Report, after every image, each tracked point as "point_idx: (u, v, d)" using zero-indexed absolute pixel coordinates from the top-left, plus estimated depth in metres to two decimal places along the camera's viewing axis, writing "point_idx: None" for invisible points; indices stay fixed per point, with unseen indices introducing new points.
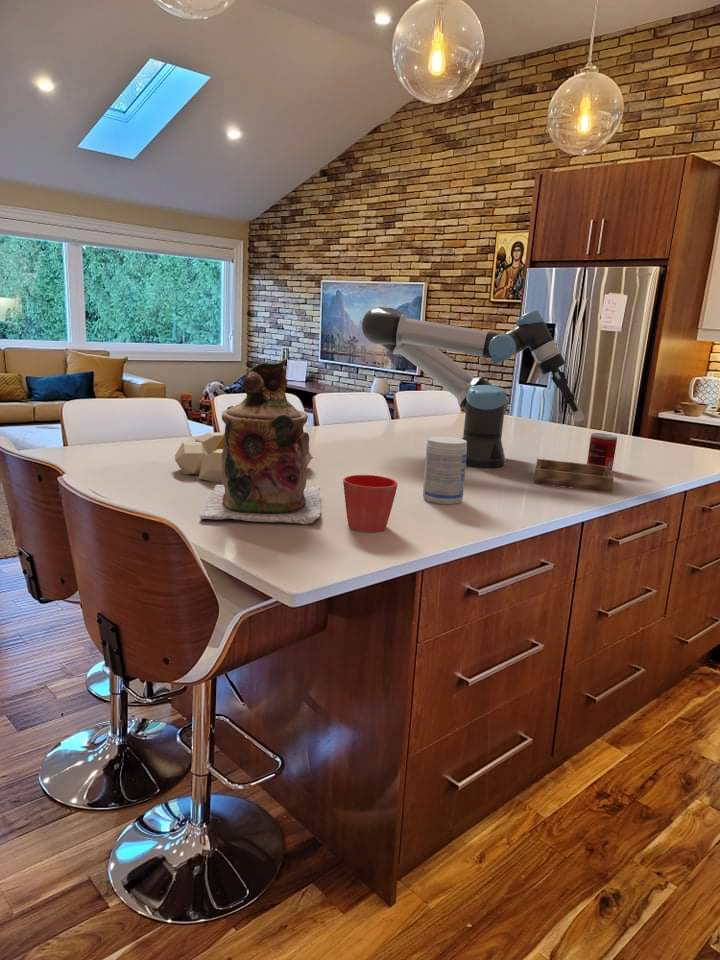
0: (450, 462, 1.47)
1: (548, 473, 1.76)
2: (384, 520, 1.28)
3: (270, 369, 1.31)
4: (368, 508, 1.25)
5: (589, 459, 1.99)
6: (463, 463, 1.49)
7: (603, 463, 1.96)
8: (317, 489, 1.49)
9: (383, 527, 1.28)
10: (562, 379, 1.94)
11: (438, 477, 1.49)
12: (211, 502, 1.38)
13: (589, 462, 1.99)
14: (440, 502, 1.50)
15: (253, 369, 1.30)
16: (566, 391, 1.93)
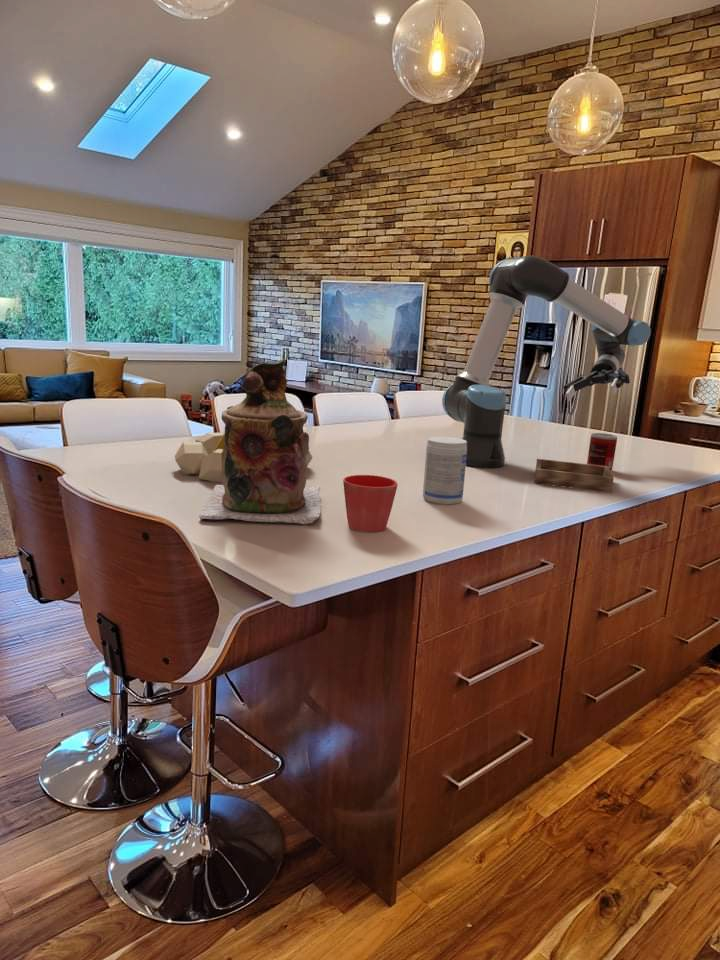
0: (450, 462, 1.47)
1: (548, 473, 1.76)
2: (384, 520, 1.28)
3: (269, 369, 1.31)
4: (368, 508, 1.25)
5: (589, 459, 1.99)
6: (463, 463, 1.49)
7: (603, 463, 1.96)
8: (317, 489, 1.49)
9: (383, 527, 1.28)
10: None
11: (438, 477, 1.49)
12: (211, 502, 1.38)
13: (589, 462, 1.99)
14: (440, 502, 1.50)
15: (253, 369, 1.30)
16: None
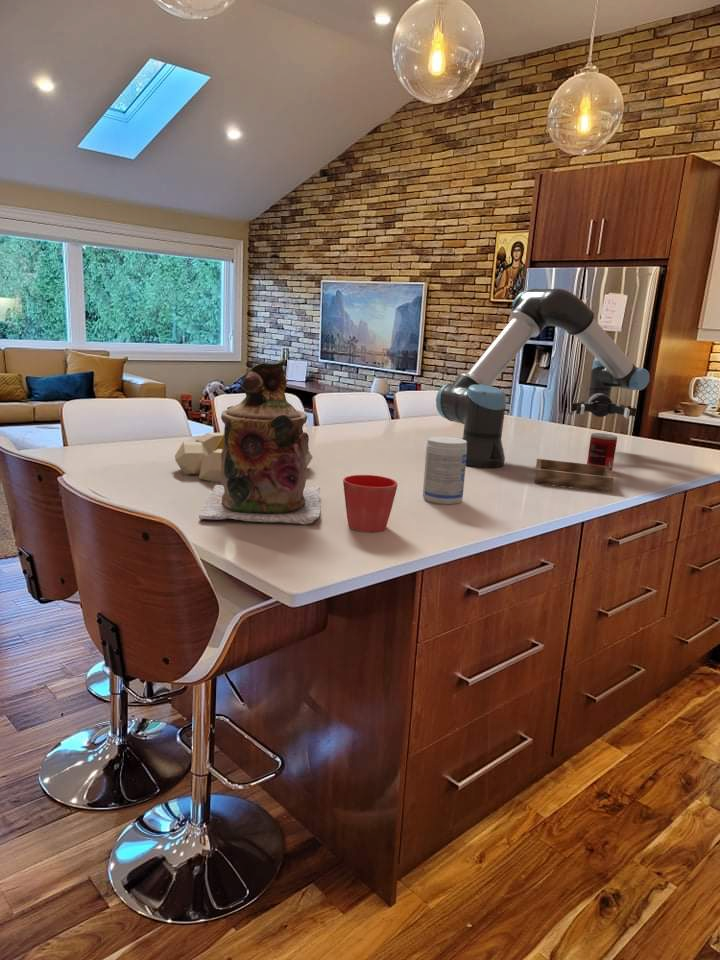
0: (450, 462, 1.47)
1: (548, 473, 1.76)
2: (384, 520, 1.28)
3: (269, 369, 1.31)
4: (368, 508, 1.25)
5: (589, 459, 1.99)
6: (463, 463, 1.49)
7: (603, 463, 1.96)
8: (317, 489, 1.49)
9: (383, 527, 1.28)
10: None
11: (438, 477, 1.49)
12: (210, 502, 1.38)
13: (589, 462, 1.99)
14: (440, 502, 1.50)
15: (252, 369, 1.30)
16: None
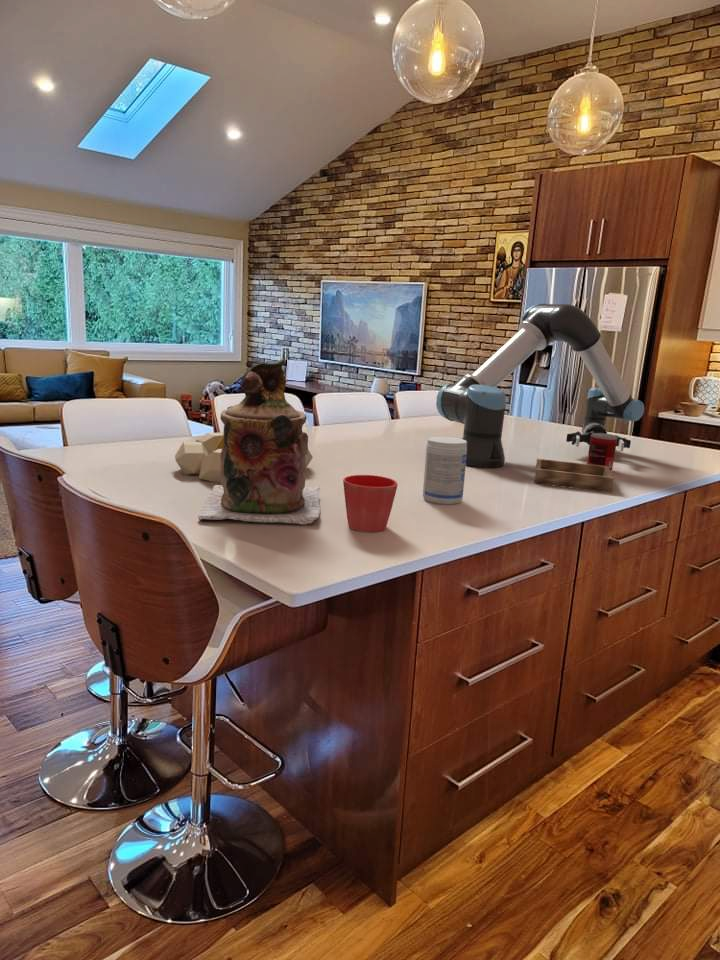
0: (450, 462, 1.47)
1: (548, 473, 1.76)
2: (384, 520, 1.28)
3: (268, 369, 1.31)
4: (368, 508, 1.25)
5: (589, 459, 1.99)
6: (463, 463, 1.49)
7: (603, 463, 1.96)
8: (316, 489, 1.49)
9: (383, 527, 1.28)
10: None
11: (438, 477, 1.49)
12: (209, 502, 1.38)
13: (589, 462, 1.99)
14: (440, 502, 1.50)
15: (252, 369, 1.30)
16: None
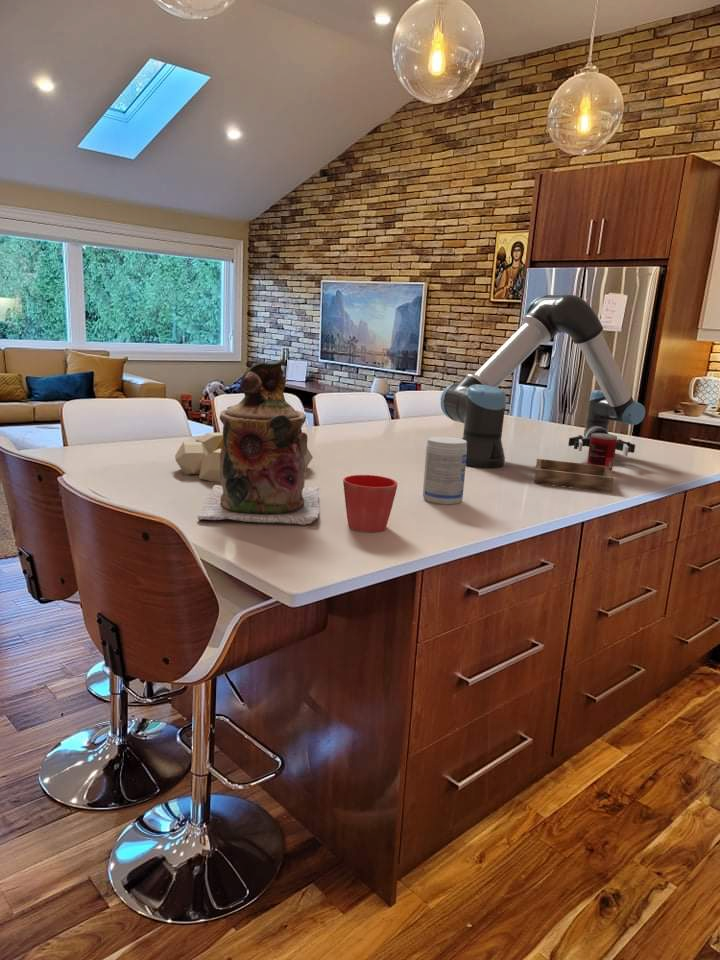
0: (450, 462, 1.47)
1: (548, 473, 1.76)
2: (384, 520, 1.28)
3: (268, 369, 1.31)
4: (368, 508, 1.25)
5: (589, 459, 1.99)
6: (463, 463, 1.49)
7: (603, 463, 1.96)
8: (315, 489, 1.48)
9: (383, 527, 1.28)
10: None
11: (438, 477, 1.49)
12: (209, 503, 1.37)
13: (589, 462, 1.99)
14: (440, 502, 1.50)
15: (251, 369, 1.29)
16: None
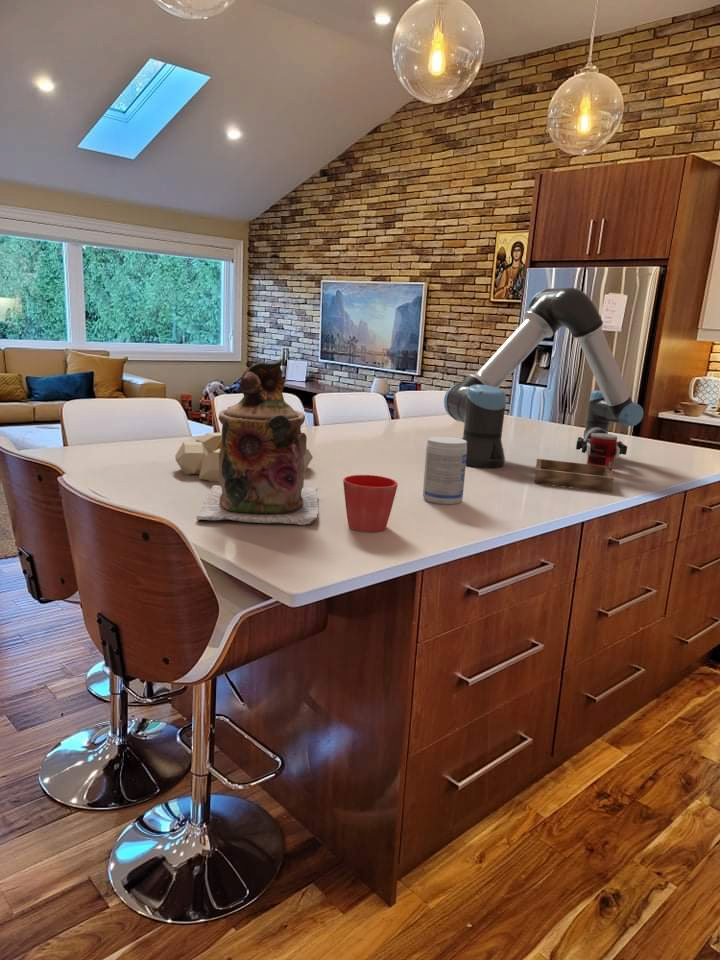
0: (450, 462, 1.47)
1: (548, 473, 1.76)
2: (384, 520, 1.28)
3: (267, 369, 1.31)
4: (368, 508, 1.25)
5: (589, 459, 1.99)
6: (463, 463, 1.49)
7: (603, 462, 1.96)
8: (315, 490, 1.48)
9: (383, 527, 1.28)
10: None
11: (438, 477, 1.49)
12: (208, 503, 1.37)
13: (589, 462, 1.99)
14: (440, 502, 1.50)
15: (250, 369, 1.29)
16: None
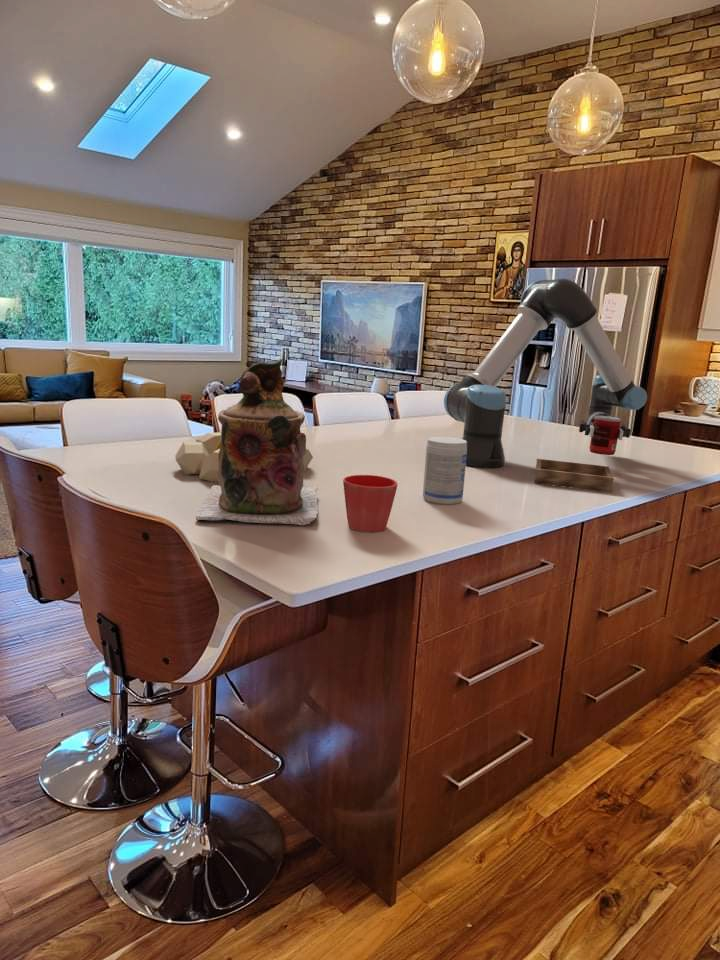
0: (450, 462, 1.47)
1: (548, 473, 1.76)
2: (384, 520, 1.28)
3: (266, 369, 1.31)
4: (368, 508, 1.25)
5: (592, 441, 1.98)
6: (463, 463, 1.49)
7: (606, 445, 1.95)
8: (314, 490, 1.48)
9: (383, 527, 1.28)
10: None
11: (438, 477, 1.49)
12: (207, 503, 1.37)
13: (592, 444, 1.98)
14: (440, 502, 1.50)
15: (249, 369, 1.29)
16: None
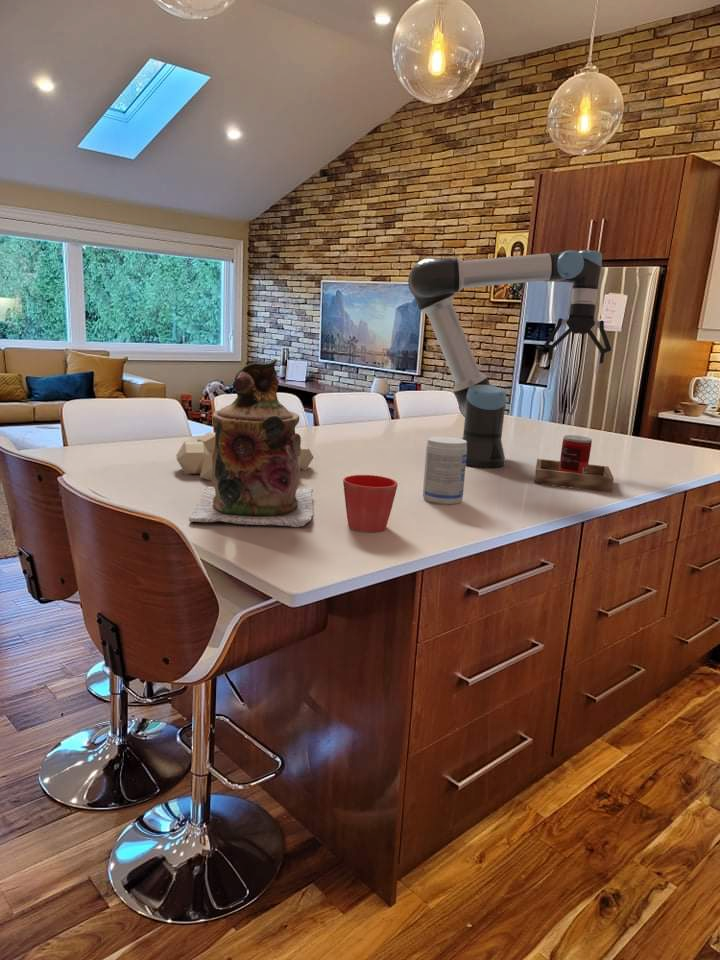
0: (450, 462, 1.47)
1: (548, 473, 1.76)
2: (384, 520, 1.28)
3: (260, 369, 1.29)
4: (368, 508, 1.25)
5: (561, 464, 1.80)
6: (463, 463, 1.49)
7: (576, 468, 1.77)
8: (310, 491, 1.47)
9: (383, 527, 1.28)
10: None
11: (438, 477, 1.49)
12: (201, 504, 1.36)
13: (561, 467, 1.80)
14: (440, 502, 1.50)
15: (243, 369, 1.28)
16: None
